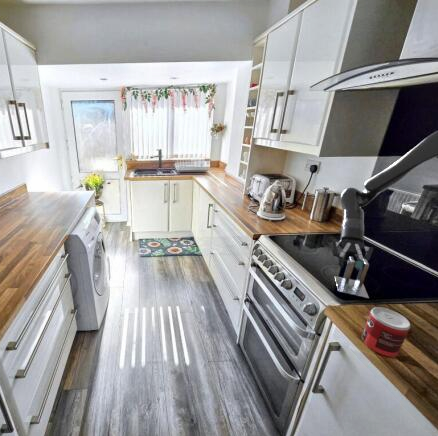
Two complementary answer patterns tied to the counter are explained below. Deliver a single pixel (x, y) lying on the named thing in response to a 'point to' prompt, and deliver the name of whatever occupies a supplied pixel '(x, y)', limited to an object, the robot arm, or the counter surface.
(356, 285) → the bracket
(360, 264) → the lever
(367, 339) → the canned food
